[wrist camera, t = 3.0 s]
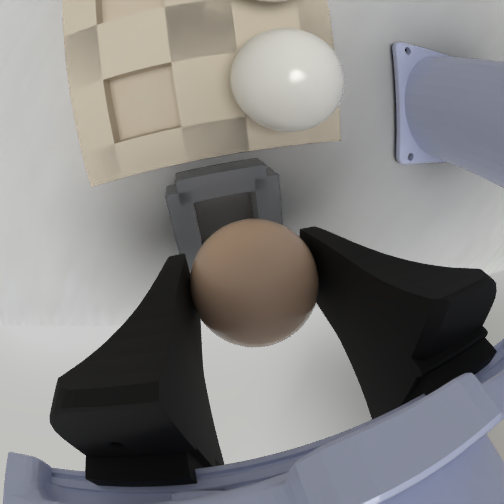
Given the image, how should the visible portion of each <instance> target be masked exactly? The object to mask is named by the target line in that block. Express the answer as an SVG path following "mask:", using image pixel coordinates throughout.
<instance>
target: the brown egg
mask: <svg viewBox="0 0 504 504" xmlns="http://www.w3.org/2000/svg"><path fill="white" fill-rule="evenodd" d="M318 289H319V276H318V270H317V265H316V263H315V260H314V257H313V255H312V253H311V251H310V250H309V248H308V247H307V245H306V244H305V242H304V241H303V240H302V239H301V238H300V237H299V236H298V235H297V234H296V233H294V232H293V231H292V230H290V229H289V228H287V227H285V226H283V225H281V224H279V223H277V222H273V221H269V220H265V219H244V220H239V221H235V222H232V223H230V224H227V225H225V226H224V227H222V228H220V229H219V230H217V231H216V232H214V233H213V234H212V235H211V236H210V237H209V238H208V239H207V240H206V241H205V242H204V243H203V245H202V246H201V248H200V249H199V251H198V253H197V255H196V257H195V259H194V262H193V265H192V269H191V275H190V291H191V296H192V301H193V304H194V306H195V309H196V311H197V313H198V315H199V317H200V318H201V320H202V321H203V322H204V324H205V325H206V326H207V327H208V328H209V329H210V330H211V331H212V332H213V333H215V334H216V335H217V336H219V337H221V338H222V339H224V340H226V341H228V342H230V343H233V344H237V345H240V346H245V347H263V346H269V345H273V344H276V343H279V342H281V341H283V340H285V339H287V338H288V337H290V336H291V335H293V334H294V333H295V332H297V330H299V328H301V327H302V326H303V325H304V323H305V322H306V321H307V319H308V318H309V316H310V314H311V313H312V311H313V309H314V306H315V303H316V300H317V296H318Z"/></svg>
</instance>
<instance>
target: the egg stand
mask: <svg viewBox="0 0 504 504" xmlns="http://www.w3.org/2000/svg"><path fill="white" fill-rule="evenodd" d="M175 182H176V185H173V186H168V187H167V189H166V196H165V197H166V201H167V206H168V210H169V214H170V218H171V222H172V226H173V230H174V234H175V238H176V241H177V245H178V249H179V253H180V254H184V253H185V256H186V260H187V263H188V267H189V271H191V269H192V265H193V262H194V259H195V257H196V255H197V253H198V251H199V249H200V248H201V246H202V245H203V243H202V239H201V234H200V230H199V225H198V220H197V216H196V211H195V206H194V203H195V202H200V201H205V200H209V199H214V198H219V197H224V196H230V195H235V194H240V193H245V192H250V199H251V207H252V215H253V219H265V220H269V221H273V222H277V223H279V224H281V225H283V224H282V210H281V197H280V185H279V175H278V174H277V173H276V172H275V171H273V170H272V169H271V168H270V167H268V168H266V166H265V164H264V163H263V162H261V161H260V160H259V159H258V158H254V159H248V160H242V161H236V162H230V163H224V164H219V165H214V166H208V167H203V168H198V169H193V170H188V171H184V172H179V173H176V179H175Z"/></svg>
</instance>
